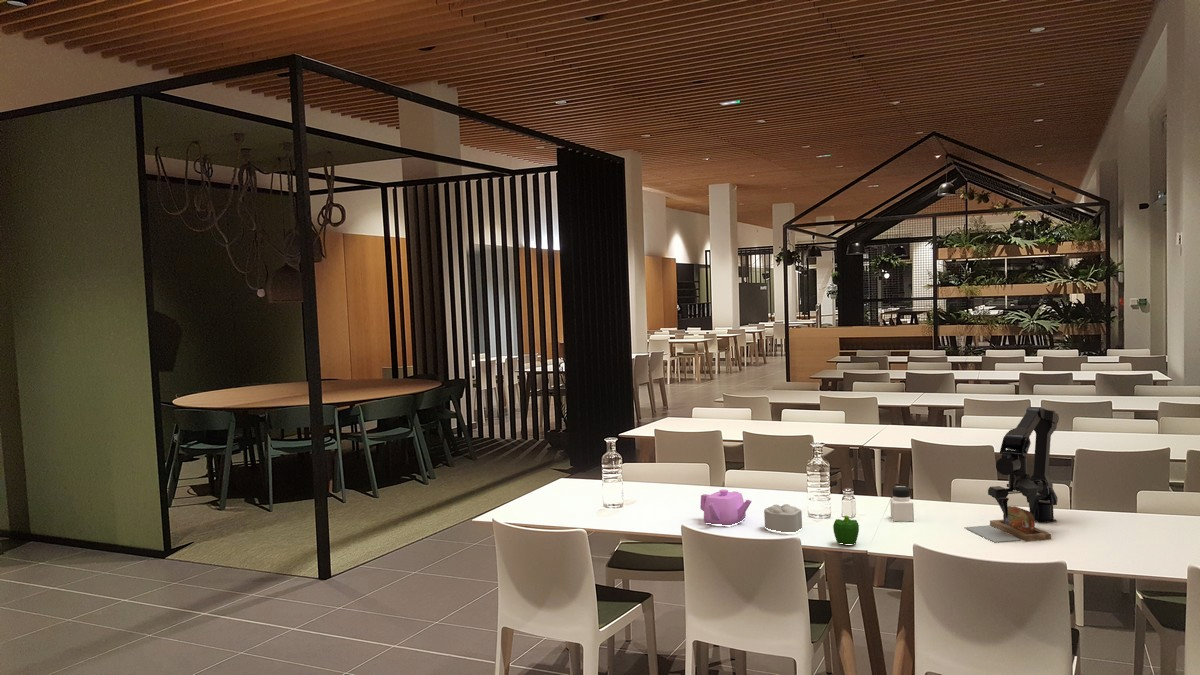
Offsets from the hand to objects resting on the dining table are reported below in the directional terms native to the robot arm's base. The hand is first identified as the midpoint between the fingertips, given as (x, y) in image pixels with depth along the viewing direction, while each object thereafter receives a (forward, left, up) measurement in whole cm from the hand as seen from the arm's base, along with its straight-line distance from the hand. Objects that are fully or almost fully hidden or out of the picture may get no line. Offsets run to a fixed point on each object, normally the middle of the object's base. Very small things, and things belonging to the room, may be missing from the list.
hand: (1019, 515), depth 288 cm
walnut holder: (0, 0, -6) cm, 6 cm away
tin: (0, 0, -6) cm, 6 cm away
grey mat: (+10, 0, -6) cm, 12 cm away
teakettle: (+92, -41, -6) cm, 101 cm away
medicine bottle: (+29, -27, -6) cm, 40 cm away
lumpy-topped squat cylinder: (+75, -25, -6) cm, 79 cm away
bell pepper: (+60, -2, -6) cm, 60 cm away
